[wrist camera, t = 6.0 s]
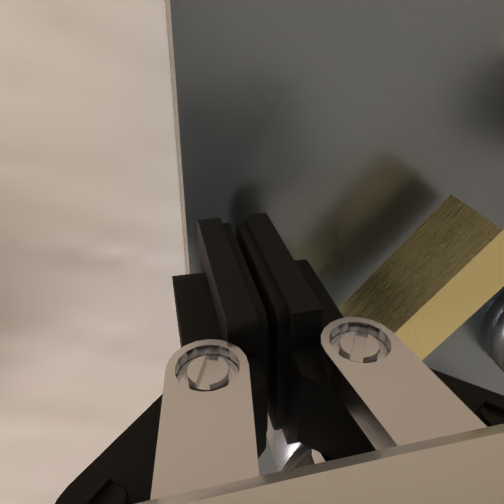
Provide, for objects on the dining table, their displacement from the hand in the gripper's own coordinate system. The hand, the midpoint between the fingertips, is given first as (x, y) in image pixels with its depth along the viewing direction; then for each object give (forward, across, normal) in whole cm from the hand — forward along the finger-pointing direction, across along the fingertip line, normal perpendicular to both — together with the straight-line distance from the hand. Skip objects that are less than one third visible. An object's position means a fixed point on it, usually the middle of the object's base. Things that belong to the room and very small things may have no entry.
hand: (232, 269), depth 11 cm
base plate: (+3, -7, +4) cm, 8 cm away
